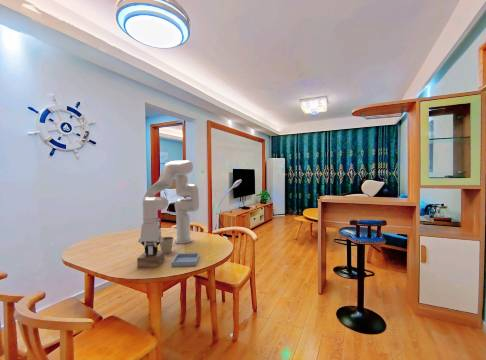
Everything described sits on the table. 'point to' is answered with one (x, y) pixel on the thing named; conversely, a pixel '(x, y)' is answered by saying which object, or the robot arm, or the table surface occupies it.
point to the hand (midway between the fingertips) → (151, 253)
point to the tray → (185, 259)
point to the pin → (150, 248)
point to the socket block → (150, 260)
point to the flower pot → (166, 244)
